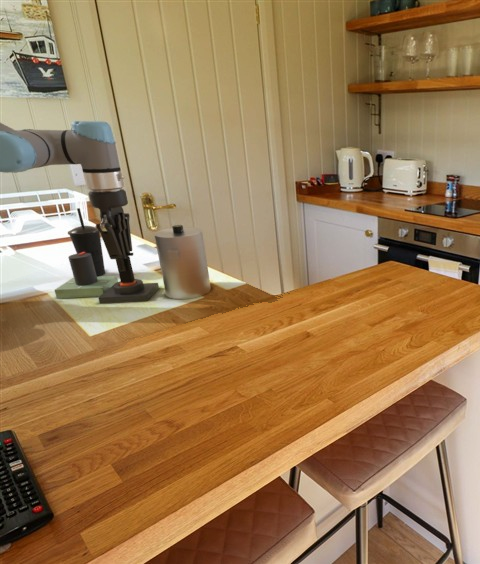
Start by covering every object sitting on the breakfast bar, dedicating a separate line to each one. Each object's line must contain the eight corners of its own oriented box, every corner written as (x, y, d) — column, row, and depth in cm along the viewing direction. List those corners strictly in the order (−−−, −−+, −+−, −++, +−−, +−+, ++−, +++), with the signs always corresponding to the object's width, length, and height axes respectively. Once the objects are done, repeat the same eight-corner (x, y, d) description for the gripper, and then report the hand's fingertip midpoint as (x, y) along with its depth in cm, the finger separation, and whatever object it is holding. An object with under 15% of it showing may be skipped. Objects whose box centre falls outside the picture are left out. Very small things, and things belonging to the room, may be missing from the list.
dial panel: (57, 300, 109) (53, 289, 107) (75, 287, 117) (72, 277, 116) (104, 298, 111) (101, 287, 109) (119, 285, 119) (116, 275, 118)
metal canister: (204, 302, 109) (192, 232, 102) (158, 305, 107) (143, 233, 100) (216, 283, 122) (206, 219, 115) (175, 285, 120) (162, 220, 113)
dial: (92, 285, 111) (85, 256, 108) (72, 286, 110) (64, 257, 107) (101, 278, 115) (94, 251, 112) (81, 279, 114) (73, 252, 112)
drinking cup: (73, 278, 124) (54, 210, 117) (96, 269, 131) (79, 205, 124) (94, 280, 122) (76, 211, 115) (116, 272, 129) (101, 206, 122)
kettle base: (100, 305, 106) (96, 290, 105) (115, 292, 114) (112, 278, 113) (147, 303, 108) (144, 288, 107) (159, 290, 116) (156, 276, 115)
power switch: (118, 291, 108) (117, 285, 108) (124, 286, 112) (123, 280, 111) (134, 290, 109) (132, 284, 108) (139, 285, 112) (137, 279, 112)
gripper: (112, 193, 96) (134, 290, 104) (134, 185, 108) (152, 272, 116) (75, 194, 95) (100, 291, 103) (101, 185, 107) (122, 273, 115)
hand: (128, 281), depth 110 cm, fingers closed
